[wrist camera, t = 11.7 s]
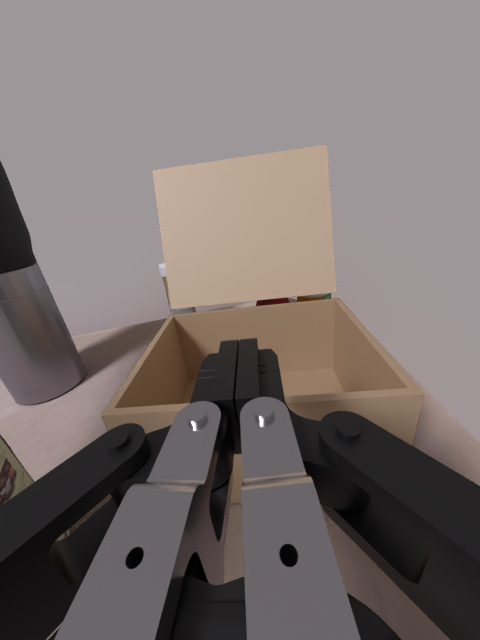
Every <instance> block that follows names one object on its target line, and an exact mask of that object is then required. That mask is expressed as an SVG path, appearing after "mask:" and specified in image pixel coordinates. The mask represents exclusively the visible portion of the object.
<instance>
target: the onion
mask: <svg viewBox="0 0 480 640" xmlns="http://www.w3.org/2000/svg"><path fill="white" fill-rule="evenodd" d="M284 303H289V300H288V298H287V297H286V298H276V299H266V300H257V303H256V306H263V305H274V304H284Z"/></svg>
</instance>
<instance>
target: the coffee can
mask: <svg viewBox="0 0 480 640" xmlns="http://www.w3.org/2000/svg"><path fill="white" fill-rule="evenodd" d="M33 483H34V480H33V479H32V478H31V476H30V475H29V473H28V472H27V471H26V469H25V468H24V466H23V465H22V464H21V462H20V461H19V460H18V458H17V457H16V456H15V454H14V453H13V451H12V450H11V448H10V446H9V445H8V444H7V443H6V441H5V440H4V439H3V438H2V436H1V435H0V506H1V505H2V504H4V503H5V502H7V501H8V500H10V499H11V498H12V497H14V496H15V495H17V494H18V493H20V492H21V491H23V490H24V489H25V488H27V487H28V486H30V485H31V484H33ZM69 535H70V531H69V529H68V530H67V531H65V532H64V533H63V534H62V535H61V536H60V537H59V538H58V539H57V540H56V541H60V540H62V539H64V538H66V537H67V536H69Z"/></svg>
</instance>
